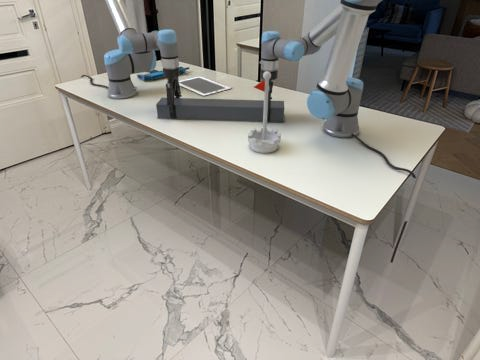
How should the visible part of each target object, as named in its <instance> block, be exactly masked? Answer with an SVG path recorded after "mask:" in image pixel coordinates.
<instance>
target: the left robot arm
mask: <svg viewBox="0 0 480 360" xmlns="http://www.w3.org/2000/svg"><path fill="white" fill-rule="evenodd" d="M104 1H105V4H106V6H107V8H108V11H109V13H110V15H111V18H112V20H113V23H114V25H115V27H116V30H117V32H118V34H119V35H118V36H117V38H116V40H117V41H116V42H117V46H118V49H117V48H116V49H113V50H109V51H107V52H105V53H104V55H103V60H104V66H105V70H106V75H107V78H108V86H107V85H104V84H97V83H94V82H93V81H92V80H93V77H91V76H89V75H87V74H82V75H81V76H80V78H83V77H86V78H89V83H90V84H91V85H92V86H96V87H102V88H105V89H107V95H108V97H109V98H110V99H112V100H113V99H115V100H124V99H129V98H133V97H134V96H136V95H137V94H138V93H137V86H135V85H134V83H133V81H132V78H131V75H135V74H136V75H137V74H143V73H148V72H149V71H153V70H156V68H157V67H156V66H157V55H156V51H160V62H161V66H162V71H163V76H164V77H163V78H167V81H166V83H165V88H166V89H165V90H166V98H167V106H169V110H170V118H172V119H171V120H177V119H176V109H175V105H174V98H183V97H182V90H181V86H180V85H179V81H180V80H179V77H181V73H180V70H179V67H180V61H179V51H178V50H179V49H178V38H177V33H176V31H175V30H174V29H169V28H168V29H167V28H166V29H160V30H153V31H151V32H148V31H147V21H146V12H145V4H144V2H145V1H144V0H104Z"/></svg>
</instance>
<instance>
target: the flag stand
mask: <svg viewBox="0 0 480 360" xmlns="http://www.w3.org/2000/svg"><path fill="white" fill-rule="evenodd" d="M263 78H264V79H265V80H262V81H261V82H259V83H257V84H256V85H254V86H253V88H254V89H257V90H259V91H261V92H263V100H264V112H263V122H262V127H260V130H257V129H256V128H253V129H251V130H250V132H248V133H247V141H248V143H249V144H250V146H249V147H250V149H251V150H252V151H254V152H256V153H261V154H269V153H273V152H276V151H277V150H278V147H279V144H280V143H281V141H282V133H280V132H278V131H279V130H277V129H275V128H272V129H271V130H268V122H267V111H268V89H269V79H270V78H271V73H270V72H268V71H266V72H264V73H263Z"/></svg>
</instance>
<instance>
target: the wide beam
mask: <svg viewBox="0 0 480 360" xmlns="http://www.w3.org/2000/svg"><path fill="white" fill-rule="evenodd" d="M174 105H175V109H176V119H175V120H193V121H196V120H197V121H228V122H229V121H230V122H257V123H259V122H261V123H263V112H264V108H263V107H264V99H263V100H262V99H230V98H229V99H228V98H224V99H223V98H188V97H180V98H174ZM155 106H156V113H157V119H163V120H164V119H165V120H166V119H167V120H173V119H172V118H170V110H169V106H167V97H161V98H160V99H159V100H158V101H157V103H156V104H155ZM270 107H271V110H270V122H268V121H267V123H284V121H285V120H284V119H285V101H284V100H271V105H270Z"/></svg>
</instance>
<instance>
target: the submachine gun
mask: <svg viewBox="0 0 480 360" xmlns="http://www.w3.org/2000/svg"><path fill="white" fill-rule="evenodd" d="M179 70H180V74H184V73H185V72H186V71H187V70H190V67H189V66H187V67H183V66H179ZM148 72H149V73H145V74H143V73H136V78H138V79H139V80H141V81H145V82H146V81H152V80H153V81H156V79H159V78H165V77H164V76H163V70H157V69H154V70H153V71H148Z"/></svg>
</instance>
